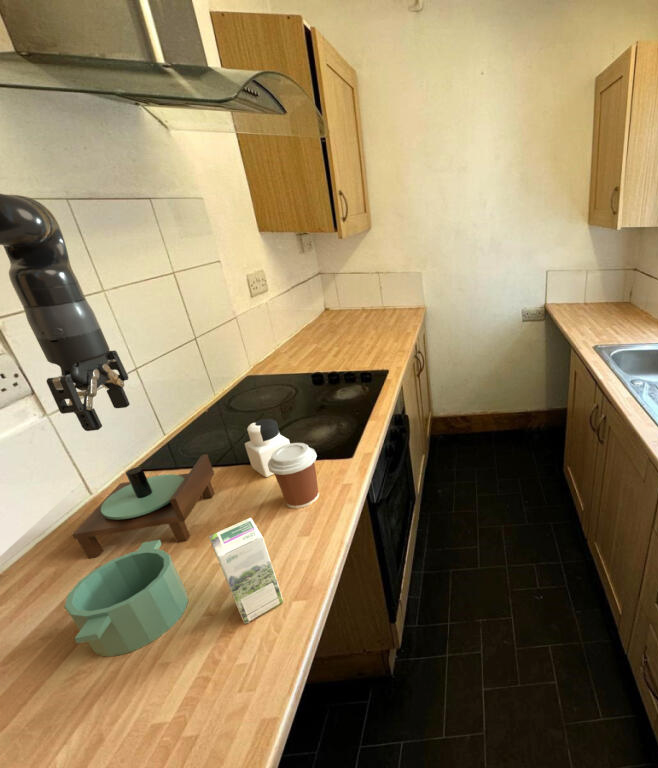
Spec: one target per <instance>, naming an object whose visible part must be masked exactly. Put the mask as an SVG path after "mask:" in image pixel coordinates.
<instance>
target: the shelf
mask: <svg viewBox="0 0 658 768" xmlns="http://www.w3.org/2000/svg"><path fill="white" fill-rule="evenodd" d="M178 475H179V476H181V477H183V478H184V480H183V482H182V483H181V485H180V486H179V487H178V489H177V490H176V491H175V493H174V494H173V496H172V497H171V498H170V503H168V504H167V505H165V506H163V507H161V508H159V509H157V510H155V511H152V512H150V513H147V514H144V515H141V516H138V517H134V518H129V519H120V520H114V519H108V518H106V517H104V516H103V515H102V513H101V506H102V504H103V503H104V502H105V500H106V499H107V498H108V497H110V496H111V495H112V494H114V493H115V492H117V491H118V490H120V489H122V488H124V487H125V486H128V485H130V482H129V481H126V482H120V483H119V484H118V485H117V486H116V487H115V488H114V489H113V490H112V491H111V492H110V493H109V494H108V495H107V496H106V498H104V500H103V501H102V502H101V503H100V504H99V505H98V506H97V507H96V508H95V509H94V510H93V512H91V513H90V514H89V516H88V517H86V518H85V520H84V521H83V522H82V523H81V524H80V525H79V526H78V527H77V528H76V529H75V530H74V531H73V532H72V533H71V536H72V538H73V540H74V541H76V540H77V542H78V544H79V546H80V548H81V549H82V550H83V553H85V556H86V558H87V559H88V560H89V559H90V560H91V559H95V558H99V557H100V556H101V555H102V554H103V552H104V549H103V547H102V545H101V543H100V542H99V540H98V538H97V537H99V536H104V535H110V534H115V533H121V532H128V531H133V530H139V529H140V530H141V529H146V528H151V527H157V526H163V525H168V526H169V528H170V530H171V532H172V535H173V537H174V539H175V541H176V543H177V544H178V543H183V542H187V541H188V540H189V538H190V537H191V534H190V531H189V529H188V526H187V525H186V520H187V519H188V517H189V516H190V514H191V512H192V511H193V509H194V508H195V506H196V505H197V503H198V501H199V499H200V498H201V497H202V498H203V500H206V499H212V498H213V497H214V495H215V490H214V487H213V485H212V483H211V481H212V479H213V477H214V476H215V471H214V468H213V466H212V463H211V460H210V457H209V455H208V453H205V454H202V455H201V456H200V457H199V458H198V460H197V461H196V463H195V464H194V465H193V467H192V468H191V470H190V471H189V472H188V473H181V474H180V473H179V474H178Z"/></svg>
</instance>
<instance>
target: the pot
mask: <svg viewBox="0 0 658 768" xmlns="http://www.w3.org/2000/svg"><path fill="white" fill-rule="evenodd" d="M161 546H162V541H161V539H156V540H149V541H145V542H142V543H141V544H140V546H139V547H138V549H137V550H134V551H131V552H129V553H126V554H122V555H120V556H118V557H115V558H113V559H111V560H109V561H106V562H105V563H103V564H102V565H100V566H98V567H96V568H95V569H93V570H92V571H90V572H89V573H88V574H86V575H85V576H84V577H83V578H81V579H80V580H79V581H78V582H77V583H76V584H75V586H74V587H73V588H72V589H71V590H70V592H69V593H68V594H67V595H66V600H65V604H64V609H65V610H66V612H67V613H68V615H69V617H70V619H72V621H73V623H74V624H75V626H76V628H77V629H78V633H77V634H76V636H75V637H74V640H75V642H76V643H77V644H82V643H87V644H88V646H89V647H90V648H91V649H92V651H93V652H94V653H95V654H96V655H98V656H102V657H117V656H122V655H126V654H129V653H131V652H135V651H137V650H139V649H141V648H144V647H145V646H147V645H149V644H151V643H152V642H154V641H156V640H157V639H159V638H160V637H161V636H163V635H164V634H166V633H167V632H168V631H169V630H170V629H171V628H172V627H173V626H174V625H175V624H176V623H177V622H178V621H179V619H181V617H182V615H183V614H184V612H185V611H186V610H187V609H186V608H187V606H188V603H189V595H188V592H187V589H186V587H185V584H184V583H183V581H182V579H181V576H180V574H179V572H178V570H177V568H176V566H175V563H174V562H173V559H172V556H171V555H170V554H169V553H167V551H165V550H163V549H160V548H161Z"/></svg>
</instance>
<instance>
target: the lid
mask: <svg viewBox="0 0 658 768" xmlns="http://www.w3.org/2000/svg"><path fill="white" fill-rule="evenodd" d="M125 475H126V478H127V479H128V482H130V485H128V486H125V487H124V488H122V489H120V490H118V491H117V492H115V493H114V494H112V495H111V496H110V497H108V496H107V497H108V498H107V497H106V498H107V499H106V498H105V499H106V500H105V499H104V500H105V502H104V503H103V504H102V506H101V513H102V515H103V516H104V517H106V518H108V519H114V520H120V519H129V518H134V517H138V516H141V515H144V514H147V513H150V512H152V511H155V510H157V509H159V508H161V507H163V506H165V505H167V504H168V503H170V498H171V497H172V496H173V494H174V493H175V491H176V490H177V489H178V487H179V486H180V485H181V483H182V482H183V480H184V478H183V477H181V476H179V475H180V474H173V473H172V474H171V473H168V474H167V473H166V474H159V475H154V476H150V477H147V476H146V474H145V471H144V469H143V467H142V466H136V467H133V468H130V469H128V470H127V471H125Z"/></svg>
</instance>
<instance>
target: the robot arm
mask: <svg viewBox="0 0 658 768" xmlns="http://www.w3.org/2000/svg"><path fill="white" fill-rule="evenodd" d="M0 246H3V248H4V251H5V253H6V256H7V258H8V260H9V264H10V267H9V270H8V277H9V281H10V283H11V285H12V287H13V290H14V291H15V292H14V293H15V294H16V296H17V298H18V300H19V302H20V304H21V306H22V308H23V310H24V314H25V317H26V319H27V323H28V325H29V327H30V329H31V331H32V332H33V334H34V336H35V339H36V341H37V342H38V345H39V347H40V349H41V350H42V353H43V355H44V357H45V358H46V361H47V362H48V363H50V364H52V365H57V366H58V367H59V368H60V372H61V375H58V376H54V377H48V378H47V379H46V384H47V386H48V389H49V390H50V393H51V395H52V397H53V400H54V402H55V404H56V407H57V409H58V411H59V412H60V414H63V415H64V414H75V416H76V418H77V420H78V422H79V424H80V426H81V428H82V429H83V431H86V432H93V431H99V430H100V429H101V428H102V427H103V424H102V422H101V420H100V417H99V415H98V414H97V412H96V409H95V408H93V406H94V405H93V404H94V398H95V397H96V396H97V393H98V389H99V388H100V387H103V388H104V389H107V390H106V393H107V395H108V398H109V400H110V402H111V404H112V406H113V408H114V409H125V408H127V407H129V406H130V401H129V399H128V396H127V394H126V391H125V389H124V387H125V381H129V374H128V373H127V370H126V368H125V367H124V364H123V362H122V360H121V358H120V356H119V353H118V352H117V350H110V346H109V344H108V342H107V339H106V337H105V335H104V332H103V330H102V328H101V325H100V324H99V323H100V322H99V321H98V319H97V316H96V314H95V312H94V310H93V308H92V307H91V305H90V304H89V302H88V300H87V299H86V296H85V293H84V291H83V289H82V286H81V284H80V282H79V279H78V278H77V276H76V274H75V272H74V270H73V268H72V265H71V261H70V257H69V252H68V249H67V246H66V241H65V237H64V236H63V232H62V229H61V226H60V225H59V222H58V220H57V219H56V217H55V216H54V214H53V213H52V212H51V211H50V209H48V208H47V206H46V205H44V204H42V203H41V202H40V201H38V200H36V199H34V198H31V197H28V196H25V195H20V194H5V193H0ZM115 370H116V371H117V372H118V373H117V372H115ZM78 390H79V391H78ZM81 399H83V402H82V400H81ZM66 400H68V401H69V402H68V403H67V401H66Z"/></svg>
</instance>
